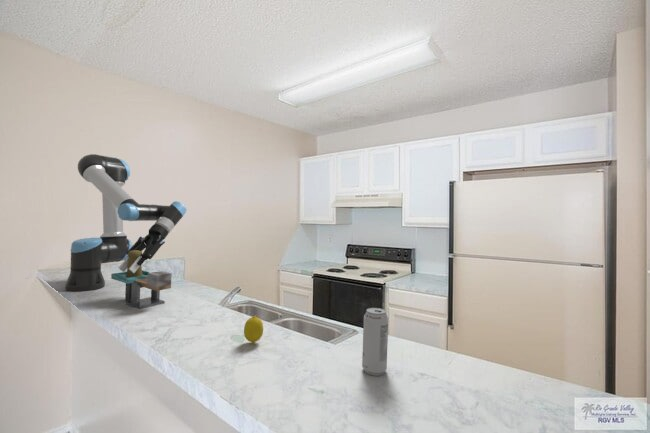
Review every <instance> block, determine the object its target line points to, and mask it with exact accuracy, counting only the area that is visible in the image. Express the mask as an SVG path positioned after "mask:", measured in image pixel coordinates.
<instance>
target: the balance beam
mask: <svg viewBox="0 0 650 433" xmlns="http://www.w3.org/2000/svg"><path fill="white" fill-rule="evenodd" d="M126 273H127V271H124V272H123V271H121V272H115V273H111V277H110V278H111V279H112V280H115V281H118V282H121V283H124V284H126V283H139V284H140V289H141V288H146V289H149V290H150V291H151V290H154V291H159V290H160V291H163V290H168V289H171V288H172V274H173V273H172V272H168V271H164V270H159V271H153V272H152V271H151V272H149V271H148V270H147V271H146V270H143V269H142V275H143V276H138V277H132V278H126Z"/></svg>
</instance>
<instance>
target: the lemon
mask: <svg viewBox="0 0 650 433" xmlns="http://www.w3.org/2000/svg"><path fill="white" fill-rule="evenodd" d="M263 324H264V323H263V322H262V320H261V319H260V318H259V317H257V316H256V315H253V316H252V317H249V318H248V319H247V320H246V321H245V323H244V327H243V328H244V329H243V334H244V335H243V336H244V338H245V339H246V340H247V341H248V342H250V343H251V344H255V343H256V342H258V341H259V340H260V339H261V338H262V337H263V334H264V325H263Z"/></svg>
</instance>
